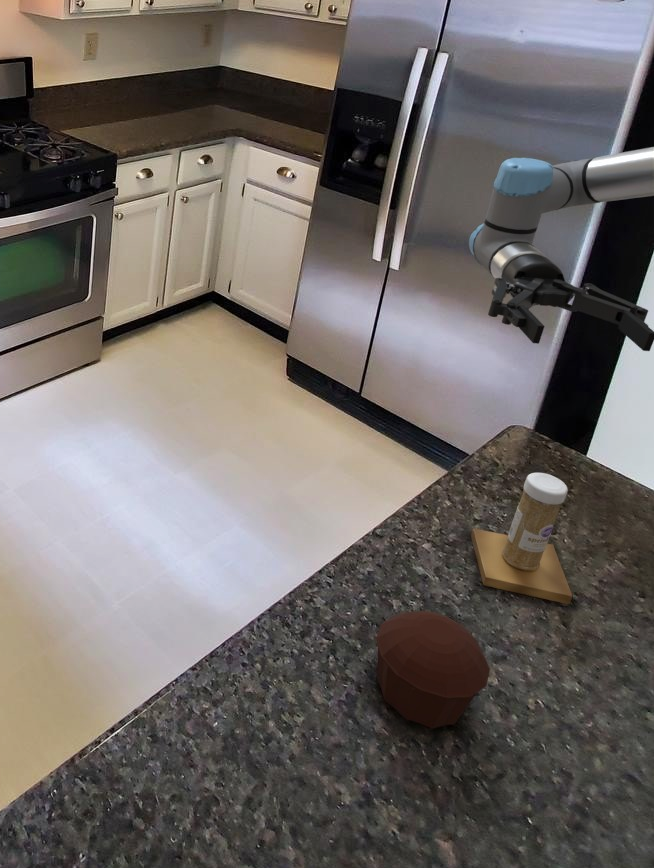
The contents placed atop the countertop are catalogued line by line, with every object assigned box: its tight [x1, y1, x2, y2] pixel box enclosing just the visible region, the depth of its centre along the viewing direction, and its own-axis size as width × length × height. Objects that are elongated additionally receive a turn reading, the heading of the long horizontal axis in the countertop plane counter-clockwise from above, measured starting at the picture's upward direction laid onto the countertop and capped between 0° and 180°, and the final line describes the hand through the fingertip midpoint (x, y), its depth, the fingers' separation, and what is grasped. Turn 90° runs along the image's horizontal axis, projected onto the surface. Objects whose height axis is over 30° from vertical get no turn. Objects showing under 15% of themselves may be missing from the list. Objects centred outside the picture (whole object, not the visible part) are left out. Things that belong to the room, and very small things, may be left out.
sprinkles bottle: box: [502, 472, 569, 571], centre depth 107 cm, size 5×5×14 cm
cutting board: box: [470, 527, 573, 605], centre depth 110 cm, size 10×10×2 cm
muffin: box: [375, 610, 491, 729], centre depth 91 cm, size 12×11×10 cm
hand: (593, 338), depth 107 cm, fingers open, 13 cm apart
